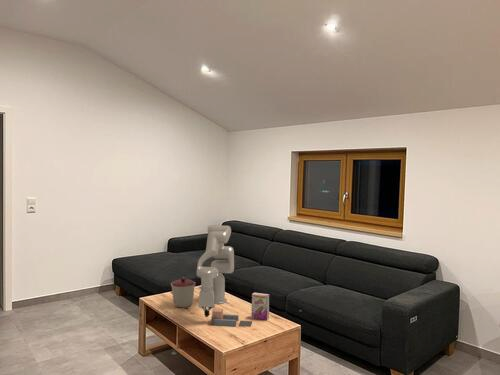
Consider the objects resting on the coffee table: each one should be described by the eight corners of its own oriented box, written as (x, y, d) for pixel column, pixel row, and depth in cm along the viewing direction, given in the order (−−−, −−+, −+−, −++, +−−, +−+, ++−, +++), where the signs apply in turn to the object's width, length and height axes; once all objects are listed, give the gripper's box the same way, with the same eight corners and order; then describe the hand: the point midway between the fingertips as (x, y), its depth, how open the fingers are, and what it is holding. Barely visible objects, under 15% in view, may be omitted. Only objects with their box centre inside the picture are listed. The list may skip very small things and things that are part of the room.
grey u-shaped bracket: (215, 318, 262) (215, 310, 262) (238, 320, 260) (238, 312, 259) (211, 325, 251) (211, 316, 251) (235, 326, 249) (235, 318, 249)
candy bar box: (251, 318, 263) (251, 294, 262) (253, 315, 268) (253, 292, 267) (267, 320, 259) (267, 296, 259) (269, 317, 264) (269, 293, 263)
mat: (240, 320, 259) (240, 320, 259) (252, 321, 258) (252, 321, 258) (238, 326, 250) (238, 325, 250) (250, 326, 249) (250, 326, 249)
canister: (199, 306, 286) (199, 278, 285) (177, 311, 275) (177, 282, 274) (188, 299, 300) (188, 272, 300) (166, 304, 290) (166, 276, 289)
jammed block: (214, 319, 259) (214, 308, 259) (223, 320, 259) (223, 308, 258) (212, 323, 253) (212, 311, 253) (221, 323, 253) (221, 311, 252)
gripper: (194, 290, 253) (194, 317, 254) (216, 291, 251) (216, 319, 252) (197, 286, 261) (197, 313, 262) (219, 287, 259) (219, 314, 260)
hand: (206, 316), depth 257 cm, fingers closed
